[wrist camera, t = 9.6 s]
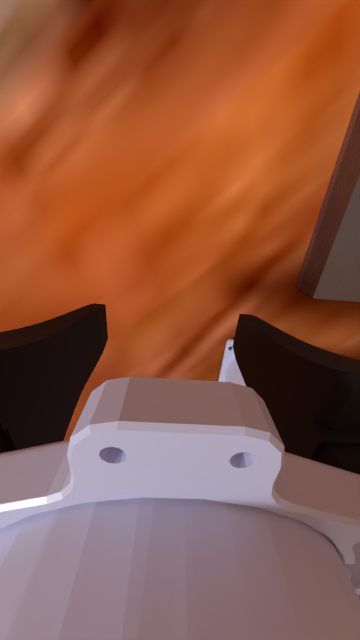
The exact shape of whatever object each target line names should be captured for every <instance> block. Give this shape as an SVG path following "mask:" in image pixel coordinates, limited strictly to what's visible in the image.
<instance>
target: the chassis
mask: <svg viewBox="0 0 360 640" xmlns="http://www.w3.org/2000/svg"><path fill="white" fill-rule="evenodd" d="M295 287H296V288H298V289H299V290H301V291H302V292H304V293H305V294H307V295H308V296H310V297H311V298H313V299H327V300H340V301H353V302H360V93H359V96H358V99H357V102H356V105H355V108H354V111H353V114H352V117H351V120H350V123H349V126H348V129H347V132H346V135H345V138H344V141H343V144H342V147H341V150H340V153H339V156H338V159H337V162H336V165H335V168H334V171H333V174H332V177H331V180H330V183H329V186H328V190H327V193H326V196H325V199H324V202H323V205H322V208H321V211H320V214H319V217H318V220H317V223H316V226H315V229H314V232H313V235H312V238H311V241H310V244H309V247H308V250H307V253H306V256H305V259H304V262H303V265H302V268H301V271H300V274H299V277H298V280H297V283H296V286H295Z"/></svg>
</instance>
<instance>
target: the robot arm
mask: <svg viewBox="0 0 360 640" xmlns="http://www.w3.org/2000/svg"><path fill="white" fill-rule="evenodd" d="M107 339H108V334H107V321H106V308H105V305H104V304H90V305H87V306H84V307H82V308H79V309H76V310H74V311H71V312H69V313H67V314H64V315H61V316H58V317H56V318H53V319H50V320H47V321H44V322H41V323H38V324H35V325H31V326H27V327H23V328H19V329H14V330H9V331H4V332H0V640H360V361H359V360H355V359H352V358H348V357H345V356H341V355H338V354H335V353H332V352H329V351H326V350H323V349H321V348H318V347H315V346H313V345H311V344H308V343H306V342H303V341H301V340H299V339H297V338H295V337H293V336H291V335H289V334H287V333H285V332H283V331H281V330H279V329H277V328H276V327H274V326H272V325H270V324H269V323H267V322H265V321H263V320H261V319H260V318H258V317H256V316H253V315H247V314H240V315H239V320H238V324H237V329H236V333H235V337H234V339H229V340H228V341H227V342H226V347H225V352H224V356H223V361H222V366H221V371H220V375H219V380H218V382H217V381H199V380H180V379H162V378H144V377H126V378H119V379H112V380H107V381H106V382H104V383H103V384H102V385H100V386H99V387H98V388H96V389H95V390H94V391H92V392H91V395H90V397H89V399H88V401H87V403H86V405H85V407H84V410H83V412H82V414H81V416H80V418H79V420H78V422H77V425H76V427H75V429H74V431H73V433H72V435H71V437H70V440H65V441H63V440H64V437H65V434H66V431H67V429H68V426H69V423H70V421H71V418H72V415H73V412H74V410H75V407H76V405H77V402H78V400H79V397H80V395H81V393H82V390H83V388H84V386H85V384H86V383H87V381H88V379H89V377H90V375H91V373H92V372H93V370H94V368H95V366H96V364H97V362H98V361H99V359H100V357H101V355H102V353H103V350H104V348H105V345H106V342H107ZM229 347H232V348H231V349H229Z"/></svg>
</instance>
